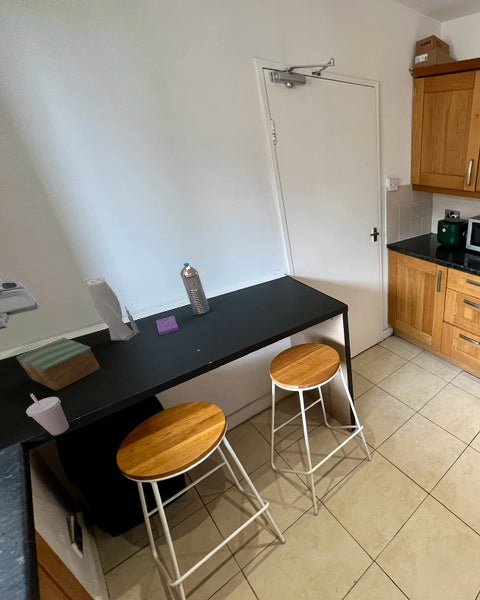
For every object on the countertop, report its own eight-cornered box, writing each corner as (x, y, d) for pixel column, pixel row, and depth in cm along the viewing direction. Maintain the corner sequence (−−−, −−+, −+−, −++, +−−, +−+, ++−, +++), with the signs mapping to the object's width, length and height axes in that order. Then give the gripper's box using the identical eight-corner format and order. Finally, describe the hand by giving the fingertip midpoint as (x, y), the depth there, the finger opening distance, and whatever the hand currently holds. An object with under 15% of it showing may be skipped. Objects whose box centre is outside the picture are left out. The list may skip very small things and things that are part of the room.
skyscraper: (125, 342, 128) (94, 280, 115) (105, 342, 128) (73, 280, 115) (140, 331, 136) (113, 271, 123) (122, 331, 136) (93, 271, 123)
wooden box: (100, 368, 114) (90, 348, 110) (56, 391, 103) (42, 370, 99) (75, 358, 119) (64, 339, 115) (31, 379, 108) (17, 359, 104)
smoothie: (39, 435, 88) (11, 398, 82) (67, 418, 93) (43, 382, 87) (52, 442, 86) (24, 404, 79) (80, 424, 91) (56, 388, 85)
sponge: (175, 318, 145) (173, 315, 144) (179, 330, 137) (177, 326, 136) (157, 323, 141) (155, 320, 140) (159, 335, 133) (158, 332, 132)
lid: (91, 348, 110) (90, 347, 109) (44, 370, 99) (42, 368, 99) (64, 339, 115) (63, 337, 115) (17, 358, 104) (15, 356, 104)
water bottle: (205, 315, 148) (188, 266, 136) (190, 315, 148) (173, 266, 137) (213, 308, 154) (198, 260, 143) (199, 308, 154) (183, 260, 143)
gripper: (-70, 298, 97) (-57, 337, 95) (26, 281, 111) (40, 314, 109) (-58, 307, 102) (-45, 343, 100) (33, 289, 115) (46, 321, 113)
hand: (0, 328), depth 104 cm, fingers closed
